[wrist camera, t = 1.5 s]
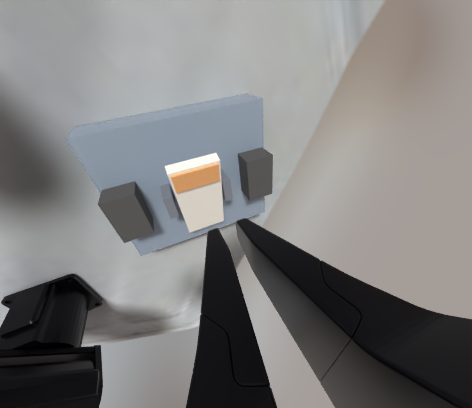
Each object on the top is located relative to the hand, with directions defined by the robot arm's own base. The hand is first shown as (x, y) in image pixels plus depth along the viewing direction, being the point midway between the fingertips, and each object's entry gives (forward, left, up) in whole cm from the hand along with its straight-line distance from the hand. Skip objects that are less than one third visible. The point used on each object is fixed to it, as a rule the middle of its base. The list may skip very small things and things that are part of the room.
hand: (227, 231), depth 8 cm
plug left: (-4, +6, -10) cm, 12 cm away
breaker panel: (-4, 0, -13) cm, 13 cm away
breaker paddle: (-4, 0, -8) cm, 9 cm away
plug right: (-4, -6, -10) cm, 12 cm away
